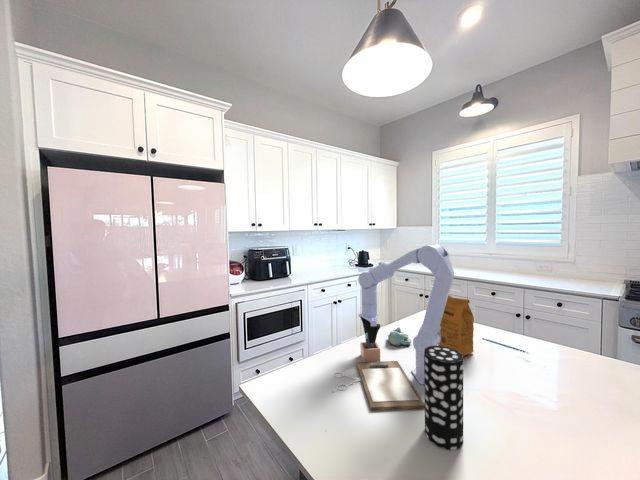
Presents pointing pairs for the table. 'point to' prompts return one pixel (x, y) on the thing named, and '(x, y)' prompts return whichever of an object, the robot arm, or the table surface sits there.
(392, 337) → the stuffed animal
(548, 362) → the table surface
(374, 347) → the pen cup
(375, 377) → the clipboard
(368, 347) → the marker
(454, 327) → the coffee package
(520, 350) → the grey thin rod
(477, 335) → the table surface
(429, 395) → the white-spotted black cylinder
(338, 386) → the scissors
